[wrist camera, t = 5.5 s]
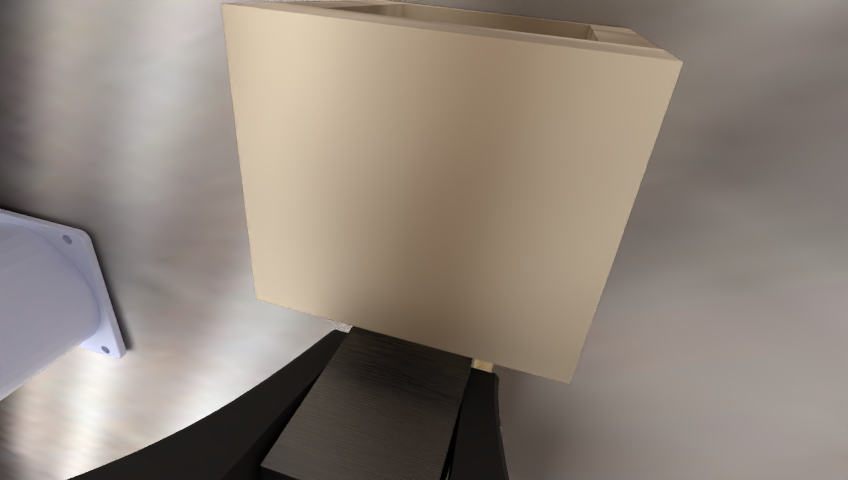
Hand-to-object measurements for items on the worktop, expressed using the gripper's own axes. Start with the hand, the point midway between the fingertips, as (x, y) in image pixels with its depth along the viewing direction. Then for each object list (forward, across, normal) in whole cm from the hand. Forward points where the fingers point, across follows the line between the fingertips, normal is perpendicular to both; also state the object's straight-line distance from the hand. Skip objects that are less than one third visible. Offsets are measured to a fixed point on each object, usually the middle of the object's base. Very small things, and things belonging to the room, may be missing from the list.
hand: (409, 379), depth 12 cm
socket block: (+6, 0, -5) cm, 8 cm away
